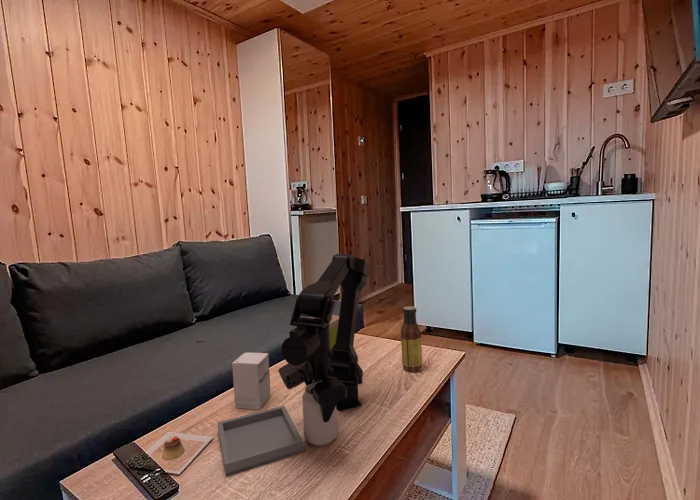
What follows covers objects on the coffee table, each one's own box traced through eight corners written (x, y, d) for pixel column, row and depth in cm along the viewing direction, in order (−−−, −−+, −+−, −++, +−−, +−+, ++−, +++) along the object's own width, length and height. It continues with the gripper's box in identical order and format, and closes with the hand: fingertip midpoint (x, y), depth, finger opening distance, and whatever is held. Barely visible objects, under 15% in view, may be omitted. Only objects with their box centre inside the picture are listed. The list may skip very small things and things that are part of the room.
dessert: (214, 441, 86) (212, 421, 85) (179, 479, 74) (177, 456, 73) (168, 435, 88) (166, 416, 88) (128, 471, 77) (126, 449, 76)
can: (304, 429, 88) (302, 381, 87) (336, 426, 89) (334, 378, 87) (303, 449, 81) (301, 397, 79) (338, 446, 82) (336, 395, 80)
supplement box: (260, 410, 97) (257, 364, 95) (234, 408, 98) (230, 362, 97) (271, 396, 104) (269, 352, 103) (247, 394, 106) (244, 351, 104)
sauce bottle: (425, 366, 119) (424, 306, 117) (417, 374, 114) (417, 311, 112) (406, 362, 123) (405, 303, 120) (398, 370, 118) (397, 308, 115)
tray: (284, 414, 95) (284, 405, 94) (303, 451, 80) (303, 441, 80) (218, 432, 88) (217, 422, 88) (226, 476, 74) (225, 464, 73)
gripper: (271, 339, 87) (274, 402, 89) (293, 371, 71) (297, 447, 72) (316, 331, 92) (318, 391, 94) (347, 359, 75) (349, 431, 77)
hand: (319, 412), depth 84 cm, fingers closed on can, 7 cm apart
